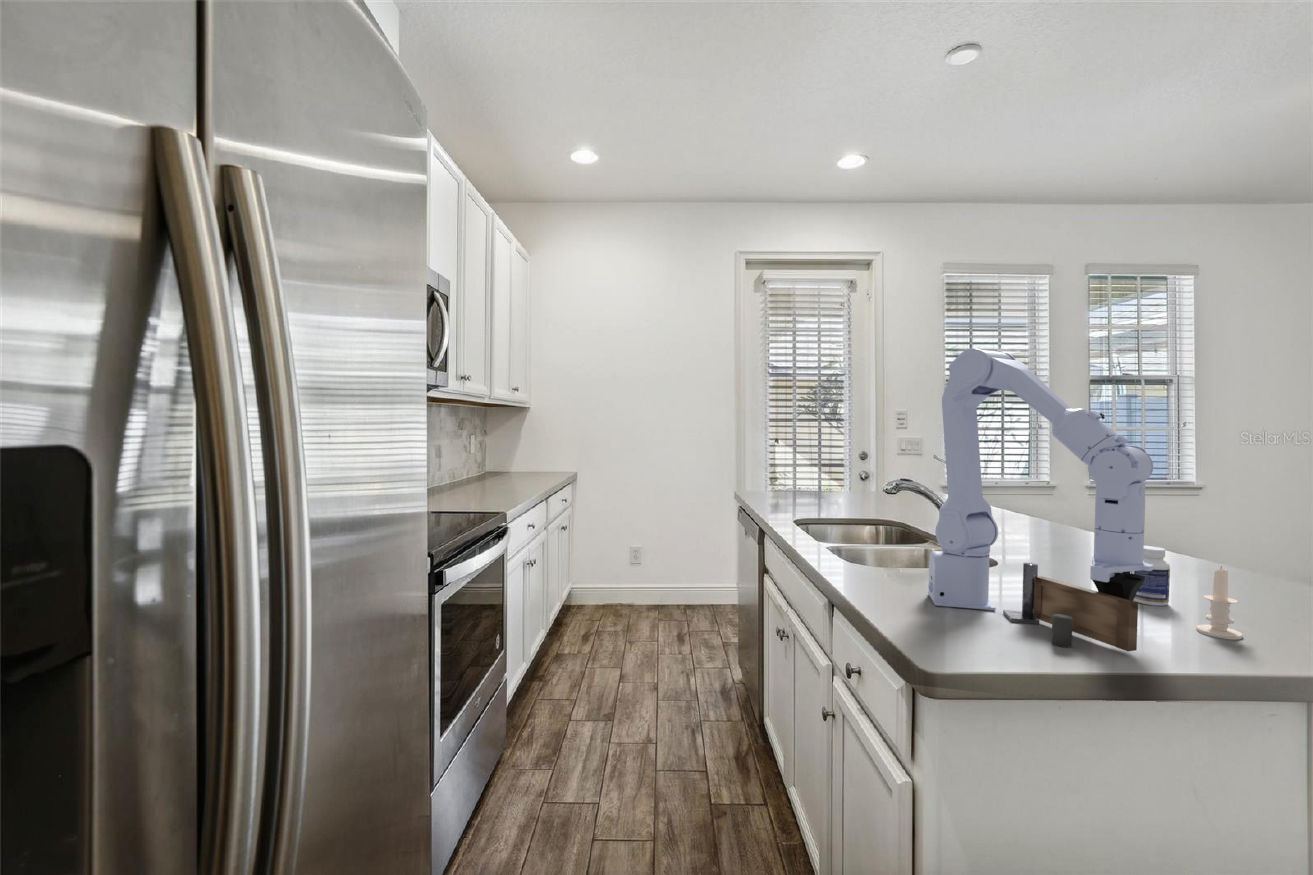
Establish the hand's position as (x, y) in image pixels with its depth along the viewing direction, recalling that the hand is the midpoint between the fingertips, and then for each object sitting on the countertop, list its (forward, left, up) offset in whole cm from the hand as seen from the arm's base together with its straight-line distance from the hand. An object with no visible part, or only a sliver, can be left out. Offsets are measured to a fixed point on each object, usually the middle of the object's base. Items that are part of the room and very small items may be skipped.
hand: (1115, 623), depth 88 cm
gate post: (-10, +8, -3) cm, 13 cm away
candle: (+17, +9, -3) cm, 20 cm away
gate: (-4, +1, -2) cm, 5 cm away
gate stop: (-8, -3, -3) cm, 9 cm away
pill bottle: (+15, +25, -3) cm, 30 cm away
